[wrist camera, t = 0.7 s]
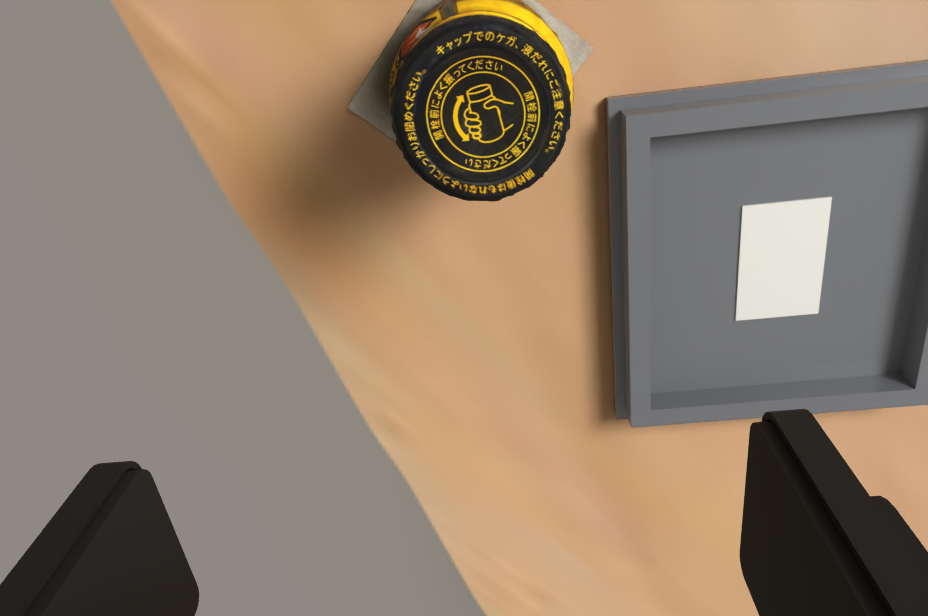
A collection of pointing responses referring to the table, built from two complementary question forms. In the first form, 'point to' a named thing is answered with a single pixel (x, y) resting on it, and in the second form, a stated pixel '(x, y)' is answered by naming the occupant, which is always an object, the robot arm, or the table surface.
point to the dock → (770, 246)
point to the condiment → (476, 93)
